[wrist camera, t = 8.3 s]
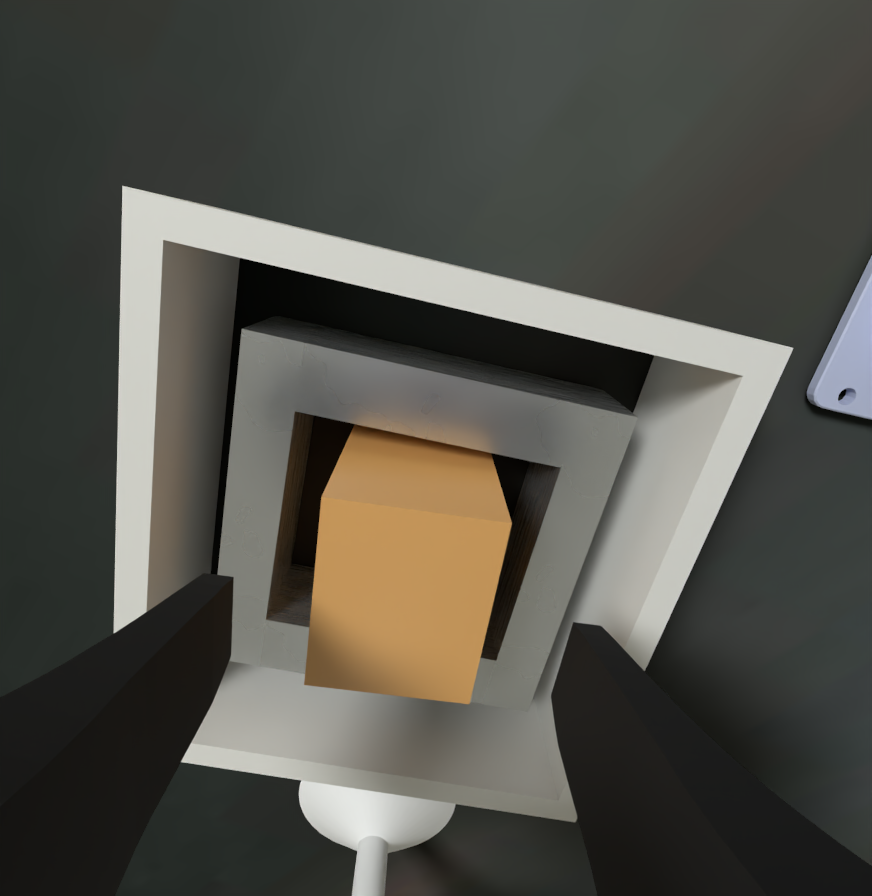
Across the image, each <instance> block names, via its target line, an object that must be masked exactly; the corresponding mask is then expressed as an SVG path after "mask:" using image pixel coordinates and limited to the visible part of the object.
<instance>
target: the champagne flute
mask: <svg viewBox="0 0 872 896" xmlns="http://www.w3.org/2000/svg"><path fill="white" fill-rule="evenodd" d="M299 800H300V806H301V808H302V811H303V813H304V815H305V817H306V818H307V820H308V821H309V822H310V824H311V825H312V826H313V827H314V828H315V829H316V830H318V831H319V832H320V833H321V834H322V835H324V836H326V837H327V838H329V839H330V840H332V841H334V842H337V843H339V844H341V845H344V846H346V847H349V848H351V849H354V850H356V851H357V858H356V866H355V874H354V882H353V890H352V896H384V895H385V882H386V868H387V854H388V853H390V852H394V851H398V850H402V849H405V848H409V847H412V846H415V845H418V844H420V843H422V842H424V841H426V840H428V839H430V838H431V837H433V836H434V835H436V834H437V833H438V832H440V831H441V829H442V828H443V827H444V826H445V825H446V824H447V823H448V821H449V820H450V818H451V816H452V814H453V812H454V808H455V805H456V804H453V803H446V802H440V801H433V800H426V799H420V798H413V797H407V796H400V795H394V794H387V793H381V792H374V791H368V790H361V789H355V788H348V787H342V786H335V785H329V784H322V783H316V782H309V781H301V783H300V788H299Z"/></svg>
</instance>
